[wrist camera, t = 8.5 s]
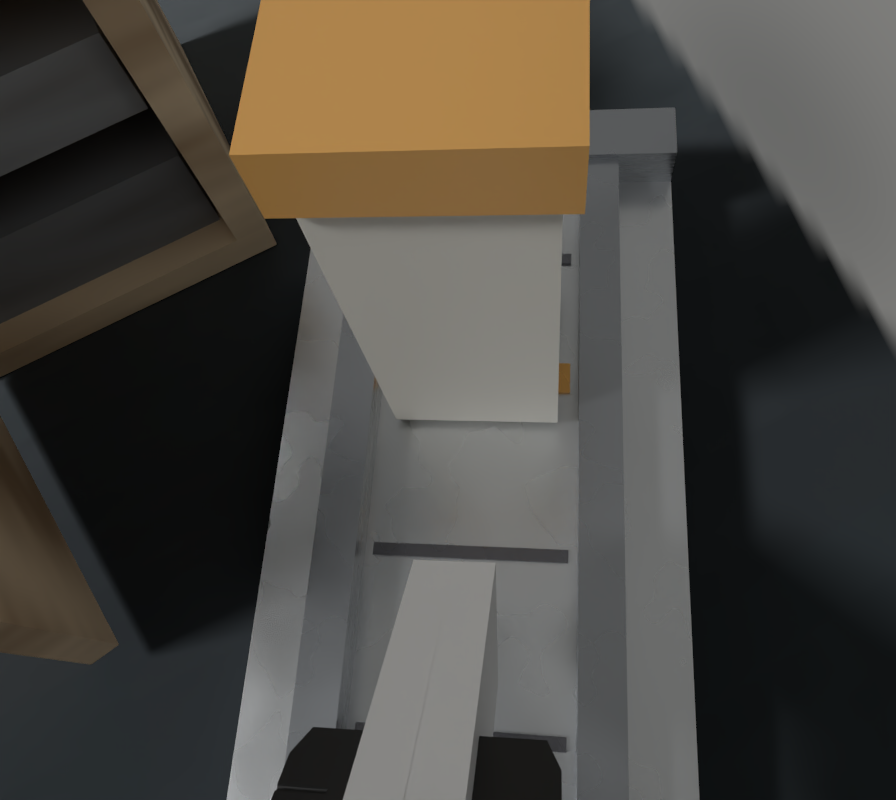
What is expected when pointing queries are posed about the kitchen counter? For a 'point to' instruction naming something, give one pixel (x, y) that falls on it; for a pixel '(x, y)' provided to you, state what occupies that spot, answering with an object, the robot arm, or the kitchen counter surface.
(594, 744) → the fader track
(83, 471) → the kitchen counter surface
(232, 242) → the wooden cabinet
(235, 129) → the fader knob
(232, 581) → the kitchen counter surface
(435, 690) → the robot arm
